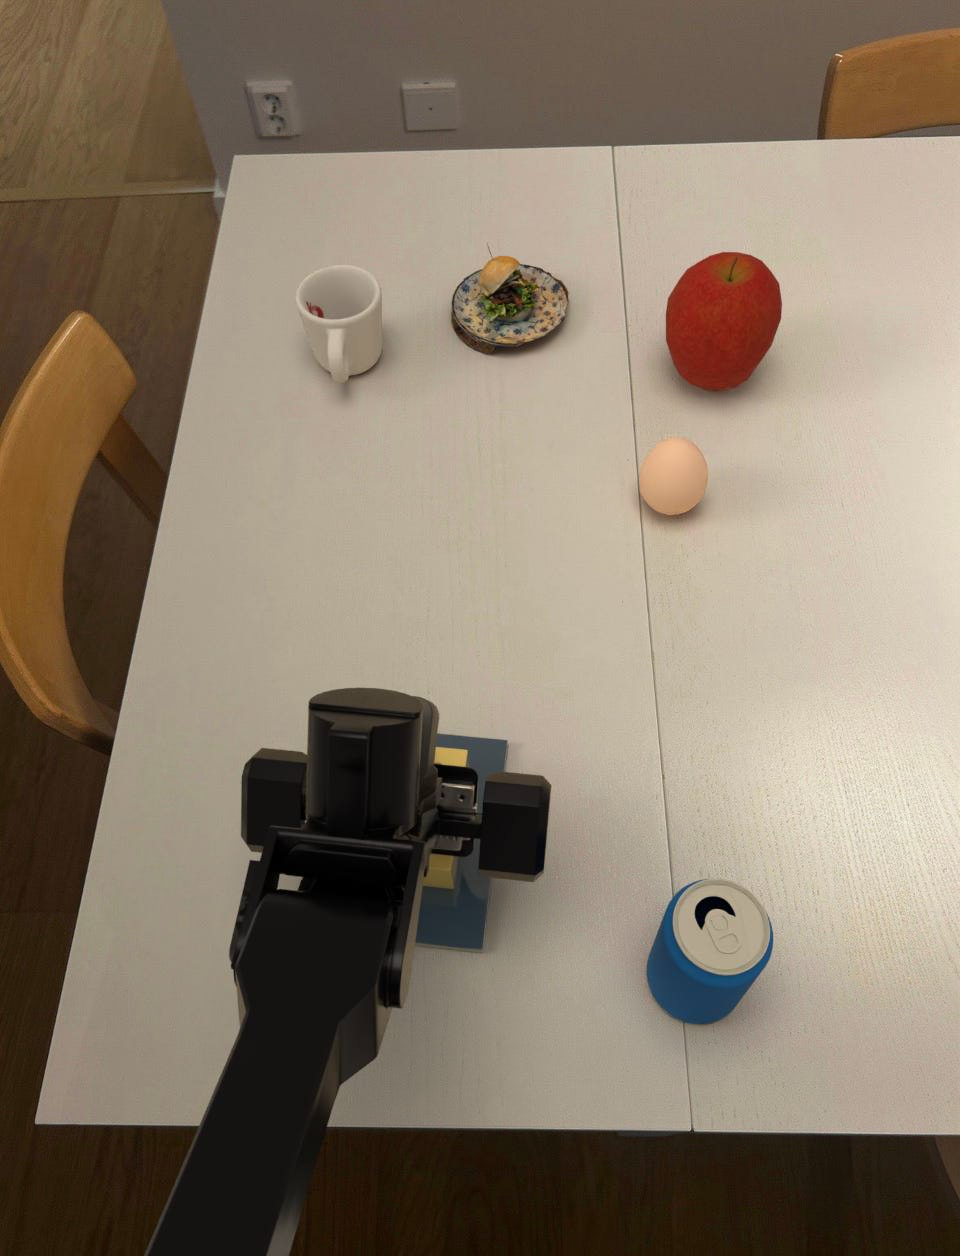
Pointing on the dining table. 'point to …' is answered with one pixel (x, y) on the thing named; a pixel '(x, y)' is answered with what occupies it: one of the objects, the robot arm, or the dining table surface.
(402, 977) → the robot arm
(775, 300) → the apple
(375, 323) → the cup
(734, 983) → the beverage can
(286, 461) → the dining table surface
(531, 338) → the burger
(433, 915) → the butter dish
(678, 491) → the egg
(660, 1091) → the dining table surface
